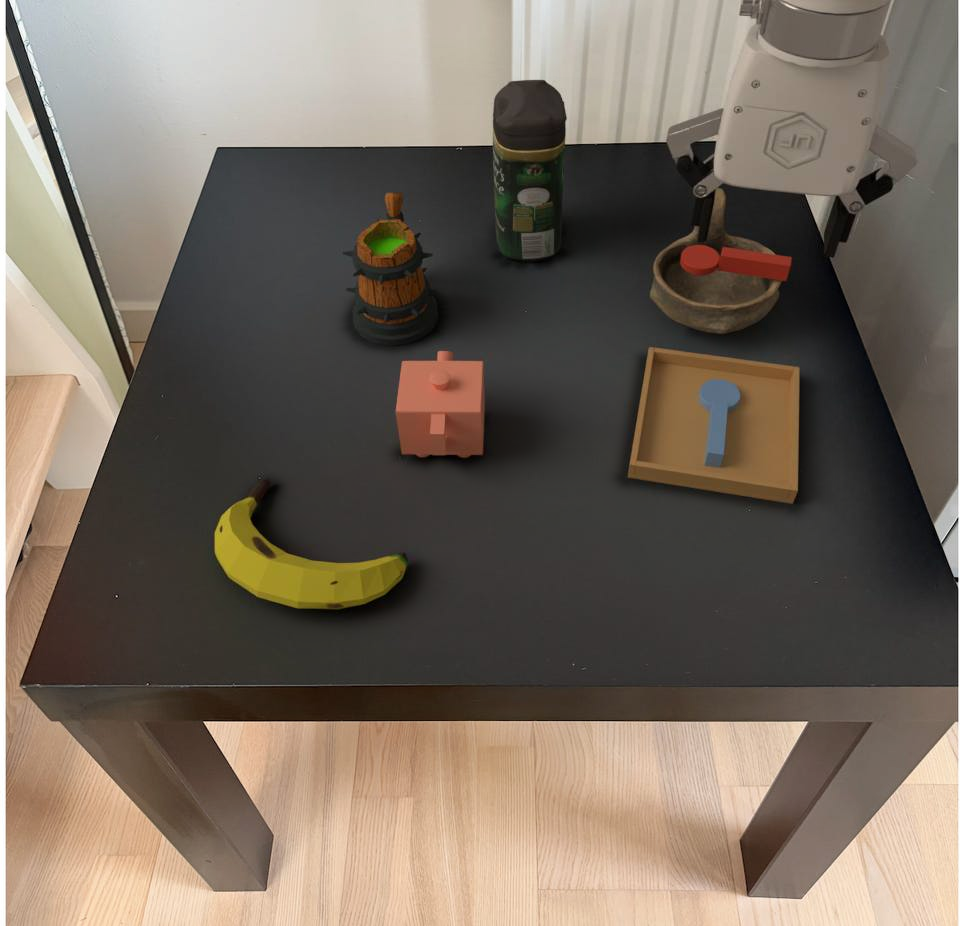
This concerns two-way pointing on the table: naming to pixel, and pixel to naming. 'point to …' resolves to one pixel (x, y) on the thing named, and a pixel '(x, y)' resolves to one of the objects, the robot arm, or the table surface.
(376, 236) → the mug
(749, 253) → the red spoon
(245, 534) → the banana
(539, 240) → the coffee jar
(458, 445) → the pink cube teapot
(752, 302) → the bowl
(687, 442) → the tray
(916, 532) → the table surface
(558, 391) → the table surface
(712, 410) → the blue paddle
